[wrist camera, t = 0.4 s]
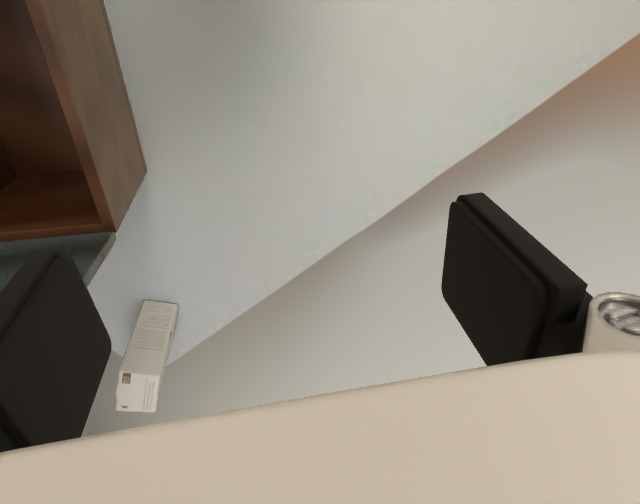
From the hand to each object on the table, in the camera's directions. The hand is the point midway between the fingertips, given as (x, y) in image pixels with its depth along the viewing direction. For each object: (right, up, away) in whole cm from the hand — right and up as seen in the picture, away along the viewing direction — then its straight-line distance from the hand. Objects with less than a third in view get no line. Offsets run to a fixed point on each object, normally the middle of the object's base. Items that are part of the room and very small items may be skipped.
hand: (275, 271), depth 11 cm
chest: (-23, +15, +28) cm, 39 cm away
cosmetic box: (-20, -8, +44) cm, 48 cm away
